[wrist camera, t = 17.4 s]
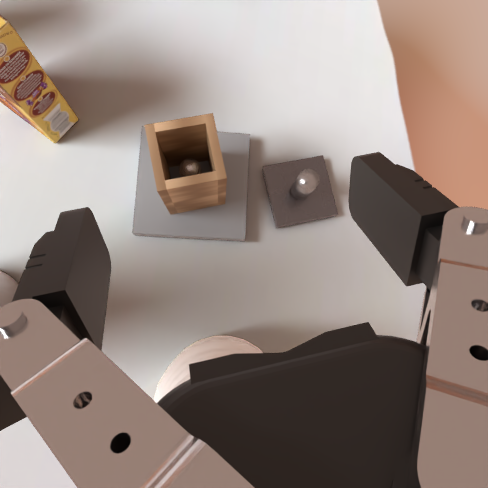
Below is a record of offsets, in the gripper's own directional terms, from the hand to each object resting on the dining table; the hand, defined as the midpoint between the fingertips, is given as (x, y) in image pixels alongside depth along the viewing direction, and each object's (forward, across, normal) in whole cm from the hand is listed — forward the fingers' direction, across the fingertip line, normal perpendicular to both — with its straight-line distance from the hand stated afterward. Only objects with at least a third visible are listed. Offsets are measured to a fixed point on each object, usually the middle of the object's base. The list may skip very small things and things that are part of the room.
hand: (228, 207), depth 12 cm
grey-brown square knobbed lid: (+27, -11, +17) cm, 33 cm away
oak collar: (+28, +1, +13) cm, 31 cm away
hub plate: (+29, +1, +14) cm, 32 cm away
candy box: (+38, +16, +6) cm, 42 cm away
